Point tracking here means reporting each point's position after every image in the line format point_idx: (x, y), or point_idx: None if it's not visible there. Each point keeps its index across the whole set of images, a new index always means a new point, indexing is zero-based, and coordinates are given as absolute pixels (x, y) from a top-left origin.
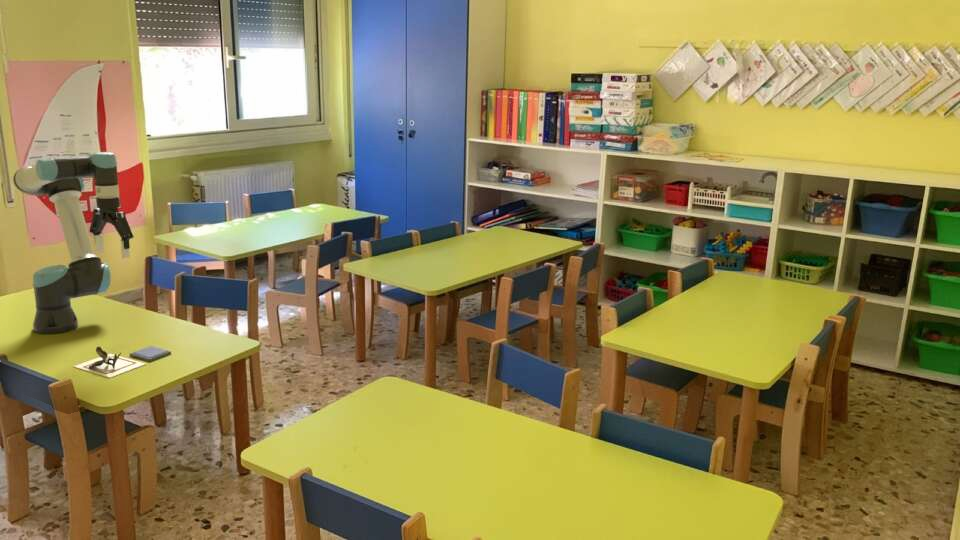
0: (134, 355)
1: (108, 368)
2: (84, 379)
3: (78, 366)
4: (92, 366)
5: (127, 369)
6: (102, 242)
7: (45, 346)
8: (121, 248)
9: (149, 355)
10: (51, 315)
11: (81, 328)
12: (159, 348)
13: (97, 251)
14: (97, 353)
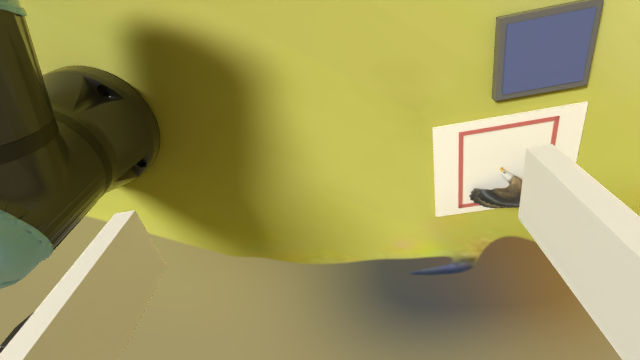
0: (515, 96)
1: (520, 177)
2: (519, 229)
3: (446, 211)
4: (499, 207)
5: (571, 152)
6: (79, 303)
7: (249, 201)
8: (588, 302)
9: (569, 73)
10: (119, 175)
11: (146, 78)
12: (547, 11)
13: (157, 279)
14: (479, 192)
